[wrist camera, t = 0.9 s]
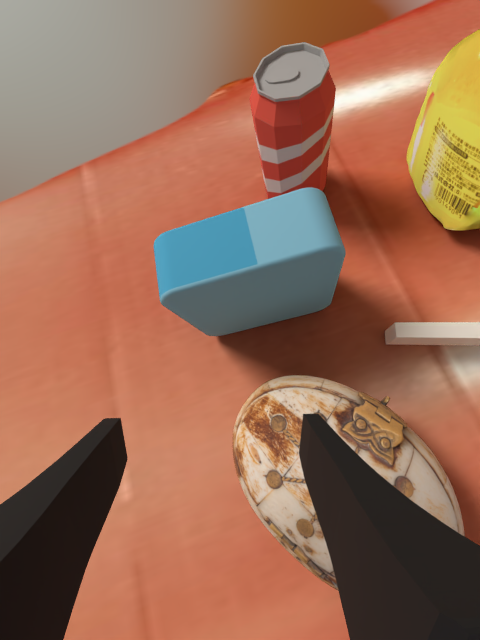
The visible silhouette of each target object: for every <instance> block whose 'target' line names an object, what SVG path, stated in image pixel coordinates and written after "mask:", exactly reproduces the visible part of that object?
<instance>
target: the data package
mask: <svg viewBox="0 0 480 640" xmlns="http://www.w3.org/2000/svg"><path fill="white" fill-rule="evenodd" d="M154 253H155V262H156V270H157V279H158V287H159V296H160V302H161V304H162V305H163V306H165V307H166V308H168V309H169V310H171V311H172V312H173V313H175V314H176V315H178V316H179V317H181V318H182V319H184V320H185V321H187V322H188V323H190V324H191V325H193V326H194V327H196V328H197V329H199V330H200V331H202V332H203V333H205V334H206V335H209V336H222V335H227V334H231V333H235V332H239V331H243V330H247V329H250V328H254V327H258V326H262V325H266V324H270V323H274V322H278V321H282V320H286V319H290V318H294V317H298V316H302V315H306V314H310V313H314V312H317V311H320V310H322V309H324V308H326V307H328V306H329V305H330V304H331V302H332V298H333V295H334V292H335V288H336V285H337V281H338V278H339V274H340V271H341V268H342V264H343V261H344V257H345V248H344V246H343V243H342V240H341V237H340V234H339V232H338V229H337V226H336V223H335V221H334V218H333V215H332V212H331V210H330V207H329V204H328V201H327V198H326V196H325V194H324V193H323V192H322V191H321V190H319V189H317V188H310V187H309V188H302V189H298V190H295V191H292V192H289V193H286V194H283V195H279V196H276V197H273V198H270V199H267V200H264V201H261V202H258V203H254V204H251V205H248V206H245V207H242V208H239V209H236V210H232V211H229V212H226V213H223V214H220V215H217V216H214V217H210V218H207V219H204V220H201V221H198V222H195V223H192V224H188V225H185V226H182V227H179V228H176V229H173V230H170V231H167V232H164V233H162V234H161V235H160V236H158V237H157V239H156V240H155V242H154Z"/></svg>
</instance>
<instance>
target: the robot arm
mask: <svg viewBox="0 0 480 640" xmlns="http://www.w3.org/2000/svg"><path fill="white" fill-rule="evenodd" d="M299 456H300V461H301V466H302V470H303V475H304V479H305V482H306V485H307V488H308V491H309V494H310V497H311V500H312V503H313V506H314V509H315V512H316V515H317V518H318V521H319V524H320V527H321V530H322V533H323V536H324V538H325V541H326V545H327V548H328V551H329V555H330V558H331V562H332V566H333V570H334V574H335V578H336V582H337V586H338V590H339V594H340V598H341V603H342V607H343V611H344V615H345V619H346V624H347V628H348V632H349V637H350V640H480V546H479V545H477V544H476V543H474V542H472V541H471V540H469V539H468V538H466V537H464V536H463V535H461V534H460V533H458V532H456V531H455V530H453V529H452V528H450V527H449V526H447V525H446V524H444V523H443V522H441V521H440V520H438V519H437V518H436V517H434V516H433V515H431V514H430V513H428V512H427V511H426V510H424V509H423V508H421V507H420V506H419V505H417V504H416V503H414V502H413V501H412V500H410V499H409V498H408V497H407V496H405V495H404V494H403V493H401V492H400V491H399V490H398V489H396V488H395V487H394V486H393V485H391V484H390V483H389V482H388V481H387V480H385V479H384V478H383V477H382V476H381V475H379V474H378V473H377V472H376V471H375V470H374V469H373V468H372V467H371V466H369V465H368V464H367V463H366V462H365V461H364V460H363V459H362V458H361V457H360V456H359V455H358V454H357V453H356V452H355V451H354V450H353V449H352V448H351V447H350V446H349V445H348V444H347V443H346V442H345V441H344V440H343V439H342V438H341V437H340V436H339V435H338V434H337V433H336V432H335V431H334V430H333V429H332V428H331V427H330V426H329V424H328V423H327V422H326V421H325V420H324V419H323V418H322V417H321V416H320V415H319V414H303V420H302V429H301V438H300V448H299ZM126 462H127V453H126V447H125V441H124V436H123V430H122V424H121V418H106V419H103V420H102V421H101V422H100V423H99V424H98V425H97V426H95V427H94V428H93V429H92V430H91V431H90V432H89V433H88V434H87V435H85V436H84V437H83V438H82V439H81V440H80V441H79V442H78V443H77V444H75V445H74V446H73V447H72V448H71V449H70V450H69V451H67V452H66V453H65V454H64V455H63V456H62V457H61V458H59V459H58V460H57V461H56V462H55V463H53V464H52V465H51V466H50V467H48V468H47V469H46V470H45V471H44V472H42V473H41V474H40V475H39V476H37V477H36V478H35V479H34V480H33V481H31V482H30V483H29V484H28V485H26V486H25V487H24V488H22V489H21V490H20V491H18V492H17V493H16V494H14V495H13V496H12V497H10V498H9V499H7V500H6V501H5V502H3V503H2V504H0V640H63V639H64V635H65V632H66V629H67V626H68V622H69V619H70V616H71V613H72V609H73V606H74V603H75V600H76V597H77V594H78V591H79V588H80V585H81V582H82V579H83V575H84V572H85V569H86V567H87V564H88V561H89V559H90V556H91V553H92V551H93V549H94V546H95V544H96V541H97V539H98V537H99V534H100V532H101V530H102V527H103V525H104V522H105V520H106V518H107V515H108V513H109V510H110V508H111V506H112V503H113V501H114V498H115V496H116V493H117V491H118V488H119V486H120V483H121V479H122V476H123V473H124V469H125V466H126Z"/></svg>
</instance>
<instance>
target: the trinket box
mask: <svg viewBox="0 0 480 640" xmlns="http://www.w3.org/2000/svg"><path fill="white" fill-rule="evenodd" d="M389 399H390V398H389V397H388V396H387V397H385V398H384V399H383V400H382V401H381V402H380V401H378V400H377V399H375V398H373V397H371V396H369V395H367V394H365V393H362V392H358V391H356V390H354V389H352V388H350V387H348V386H345V385H343V384H340V383H338V382H335V381H331V380H328V379H324V378H319V377H314V376H306V375H289V376H282V377H278V378H275V379H272V380H269V381H268V382H266V383H264V384H263V385H261V386H260V387H259V388H257V389H256V390H255V391H254V392H253V393H252V394H251V395H250V397H249V398H248V399H247V400H246V402H245V403H244V405H243V407H242V408H241V410H240V412H239V414H238V417H237V419H236V422H235V426H234V431H233V457H234V463H235V468H236V472H237V476H238V478H239V481H240V484H241V487H242V489H243V491H244V493H245V496H246V498H247V499H248V501H249V503H250V505H251V506H252V508H253V510H254V511H255V513H256V514H257V516H258V517H259V519H260V520H261V521H262V523H263V524H264V525H265V527H266V528H267V529H268V530H269V531H270V533H271V534H272V535H273V536H274V537H275V538H276V539H277V540H278V542H279V543H280V544H281V545H282V546H283V547H284V548H285V549H286V550H287V551H288V552H289V553H290V554H291V555H292V556H293V557H294V558H296V559H297V560H298V561H299V562H300V563H301V564H302V565H303V566H304V567H306V568H307V569H308V570H309V571H310V572H312V573H313V574H314V575H315V576H317V577H318V578H319V579H321V580H322V581H324V582H325V583H327V584H328V585H330V586H331V587H333V588H335V589H336V590H338V586H337V582H336V578H335V574H334V570H333V566H332V562H331V558H330V555H329V551H328V548H327V545H326V541H325V538H324V536H323V533H322V530H321V527H320V524H319V521H318V518H317V515H316V512H315V509H314V506H313V503H312V500H311V497H310V494H309V491H308V488H307V485H306V482H305V479H304V475H303V470H302V466H301V461H300V456H299V448H300V438H301V429H302V420H303V414H319V415H320V416H321V417H322V418H323V419H324V420H325V421H326V422H327V423H328V424H329V426H330V427H331V428H332V429H333V430H334V431H335V432H336V433H337V434H338V435H339V436H340V437H341V438H342V439H343V440H344V441H345V442H346V443H347V444H348V445H349V446H350V447H351V448H352V449H353V450H354V451H355V452H356V453H357V454H358V455H359V456H360V457H361V458H362V459H363V460H364V461H365V462H366V463H367V464H368V465H369V466H371V467H372V468H373V469H374V470H375V471H376V472H377V473H378V474H379V475H381V476H382V477H383V478H384V479H385V480H387V481H388V482H389V483H390V484H391V485H393V486H394V487H395V488H396V489H398V490H399V491H400V492H401V493H403V494H404V495H405V496H407V497H408V498H409V499H410V500H412V501H413V502H414V503H416V504H417V505H419V506H420V507H421V508H423V509H424V510H426V511H427V512H428V513H430V514H431V515H433V516H434V517H436V518H437V519H438V520H440V521H441V522H443V523H444V524H446V525H447V526H449V527H450V528H452V529H453V530H455V531H456V532H458V533H460V534H461V535H463V536H464V537H465V535H464V527H463V520H462V516H461V511H460V507H459V504H458V501H457V498H456V495H455V492H454V490H453V487H452V485H451V483H450V481H449V479H448V477H447V475H446V473H445V471H444V469H443V468H442V466H441V464H440V463H439V461H438V460H437V458H436V457H435V455H434V454H433V452H432V451H431V450H430V449H429V447H428V446H427V445H426V444H425V443H424V442H423V440H422V439H421V438H420V437H419V436H418V435H417V434H416V433H415V432H414V431H413V430H412V429H410V428H409V427H408V426H407V424H406V423H405V422H404V421H403V419H402V418H400V417H399V416H398V415H397V414H395V413H394V412H393V411H392V410H391V409H390V408H388V407H387V406H386V404H387V403H388V401H389ZM338 591H339V590H338Z"/></svg>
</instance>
